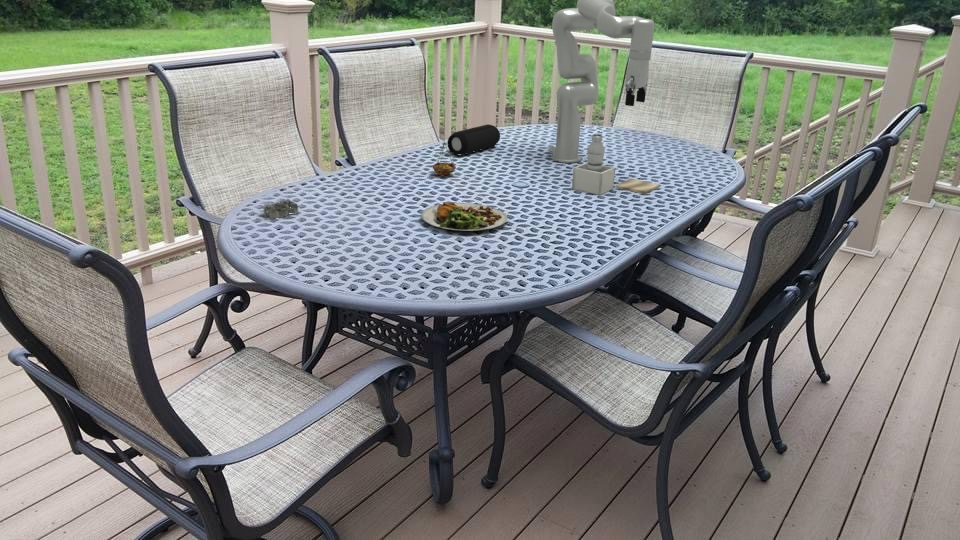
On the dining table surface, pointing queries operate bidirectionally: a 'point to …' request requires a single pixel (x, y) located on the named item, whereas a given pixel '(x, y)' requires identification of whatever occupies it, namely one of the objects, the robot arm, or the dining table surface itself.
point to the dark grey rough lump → (280, 209)
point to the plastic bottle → (595, 154)
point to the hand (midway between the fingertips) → (634, 103)
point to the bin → (593, 179)
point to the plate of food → (464, 216)
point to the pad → (637, 186)
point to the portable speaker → (473, 139)
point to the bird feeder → (444, 167)
